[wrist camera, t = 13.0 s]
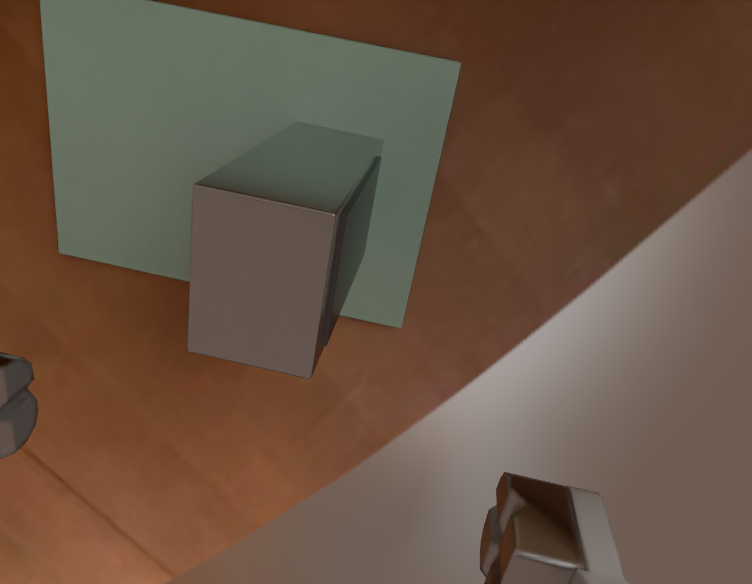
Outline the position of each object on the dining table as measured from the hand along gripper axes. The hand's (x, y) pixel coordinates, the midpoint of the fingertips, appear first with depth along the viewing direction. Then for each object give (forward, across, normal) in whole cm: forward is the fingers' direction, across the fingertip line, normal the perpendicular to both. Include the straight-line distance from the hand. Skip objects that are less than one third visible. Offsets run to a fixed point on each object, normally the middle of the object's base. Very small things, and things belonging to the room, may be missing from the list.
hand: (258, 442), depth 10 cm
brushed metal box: (+20, +3, +2) cm, 21 cm away
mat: (+21, +8, +2) cm, 23 cm away
